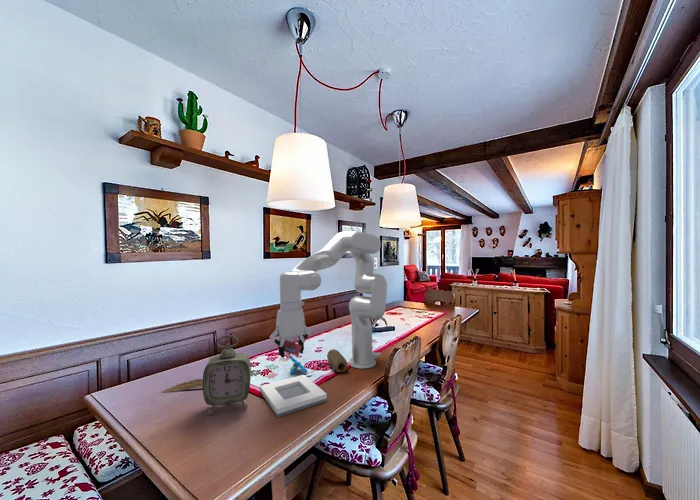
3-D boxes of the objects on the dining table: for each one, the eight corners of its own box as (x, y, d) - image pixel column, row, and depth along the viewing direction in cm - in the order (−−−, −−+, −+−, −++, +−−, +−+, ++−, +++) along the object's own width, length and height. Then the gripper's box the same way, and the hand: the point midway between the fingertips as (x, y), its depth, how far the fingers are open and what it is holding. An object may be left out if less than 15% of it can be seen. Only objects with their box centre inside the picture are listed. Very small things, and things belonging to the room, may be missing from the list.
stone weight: (324, 363, 140) (324, 349, 140) (338, 360, 143) (337, 347, 143) (335, 375, 126) (335, 359, 126) (350, 372, 129) (350, 357, 129)
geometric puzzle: (307, 347, 112) (294, 330, 112) (305, 353, 105) (291, 336, 105) (292, 359, 112) (278, 342, 112) (289, 366, 105) (275, 348, 105)
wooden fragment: (233, 375, 129) (233, 372, 129) (232, 385, 119) (232, 382, 119) (165, 386, 120) (165, 383, 120) (158, 398, 110) (158, 395, 110)
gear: (310, 372, 126) (293, 357, 124) (301, 384, 124) (283, 369, 123) (306, 366, 136) (289, 352, 135) (297, 377, 134) (280, 363, 133)
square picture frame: (304, 380, 121) (304, 374, 121) (326, 400, 105) (326, 393, 105) (260, 392, 112) (259, 385, 112) (277, 417, 95) (277, 409, 95)
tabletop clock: (203, 418, 95) (201, 341, 95) (208, 404, 104) (207, 333, 104) (250, 411, 99) (249, 336, 99) (251, 398, 107) (250, 329, 108)
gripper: (308, 302, 116) (308, 347, 116) (264, 307, 107) (265, 356, 107) (316, 304, 110) (317, 352, 110) (270, 310, 101) (271, 363, 100)
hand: (291, 354), depth 108 cm, fingers closed on geometric puzzle, 6 cm apart
